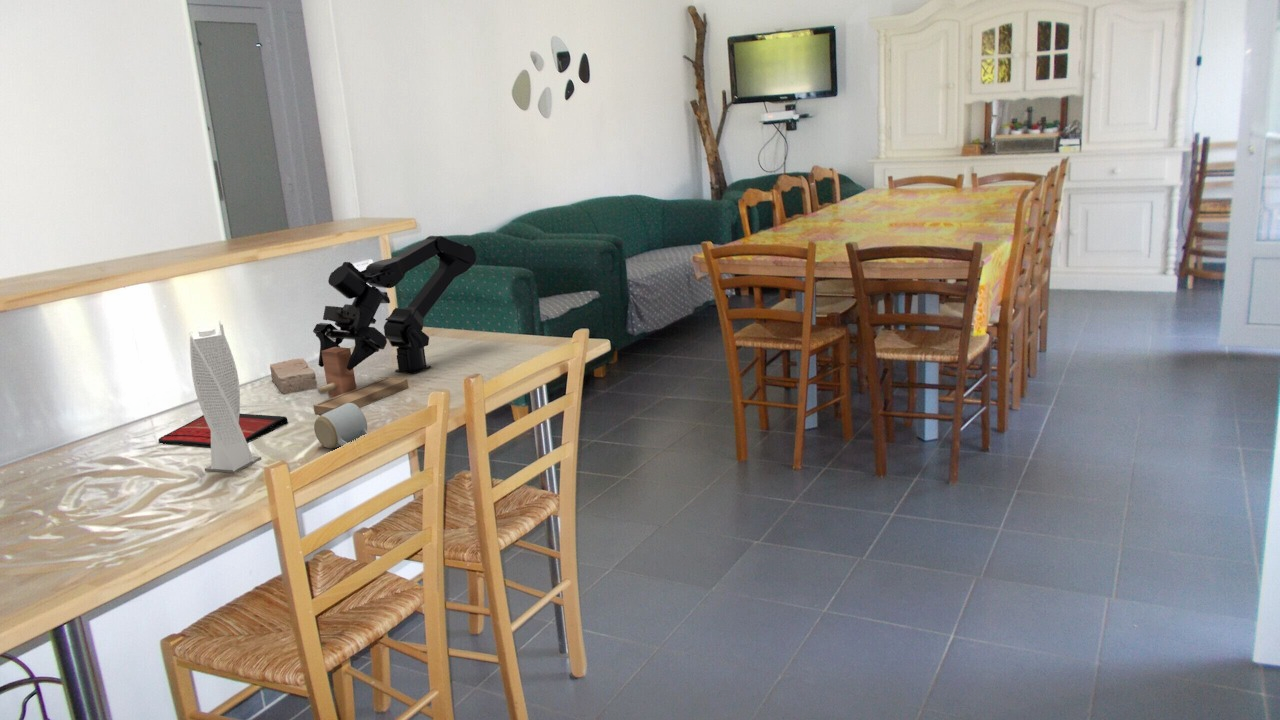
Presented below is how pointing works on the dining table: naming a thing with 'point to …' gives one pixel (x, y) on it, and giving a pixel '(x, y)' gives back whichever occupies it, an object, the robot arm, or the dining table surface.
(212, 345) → the skyscraper
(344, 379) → the wooden block with peg
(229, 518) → the dining table surface
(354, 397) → the board
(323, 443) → the ceramic mug
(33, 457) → the dining table surface
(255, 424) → the binder
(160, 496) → the dining table surface
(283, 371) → the brick
